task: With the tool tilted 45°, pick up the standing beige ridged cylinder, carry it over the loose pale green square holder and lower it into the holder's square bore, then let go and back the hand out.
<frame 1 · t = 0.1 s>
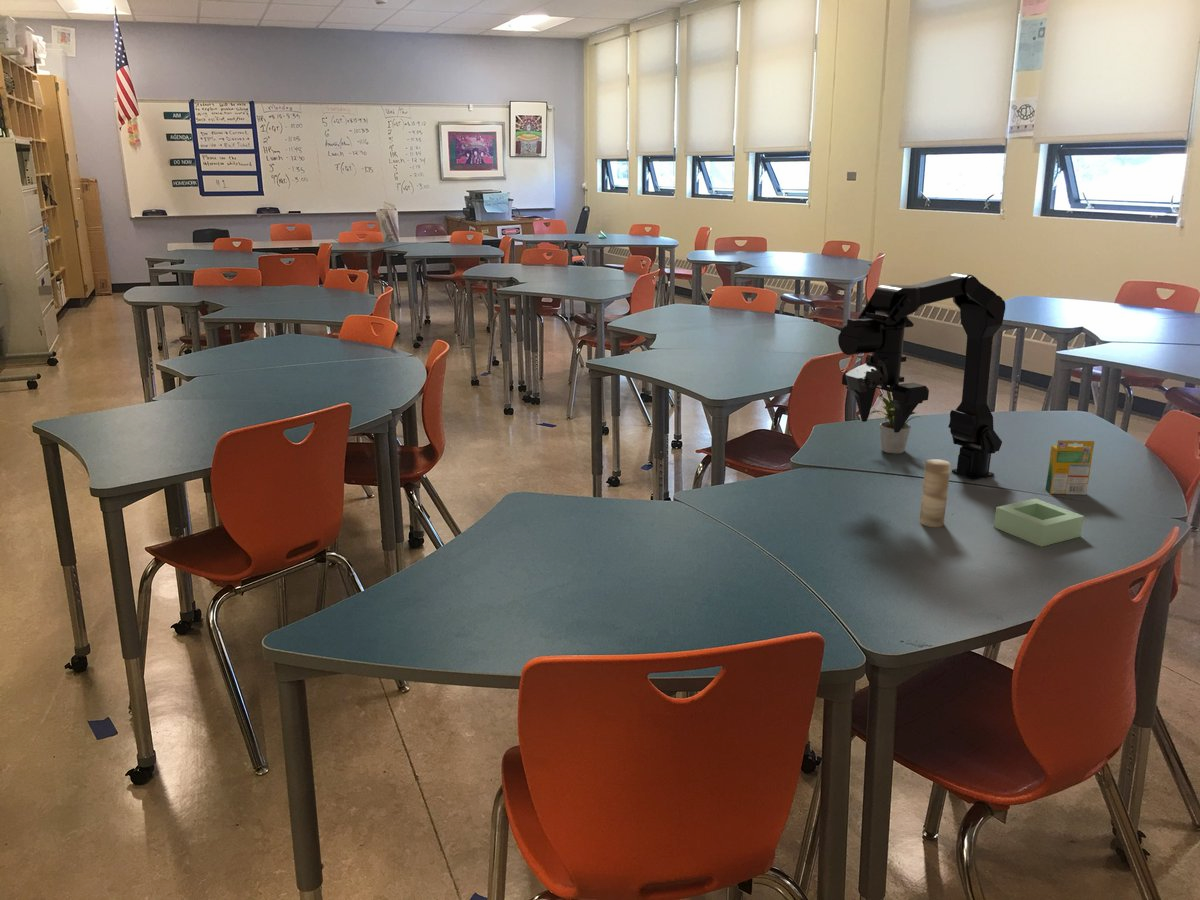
hand: (880, 426, 183), 15 cm above the table, tool pointing down, fingers open, 9 cm apart
house plant: (887, 449, 217), on the table
pale green square holder: (1036, 531, 167), on the table
crayon box: (1065, 493, 188), on the table
beige ridged cylinder: (931, 522, 172), on the table
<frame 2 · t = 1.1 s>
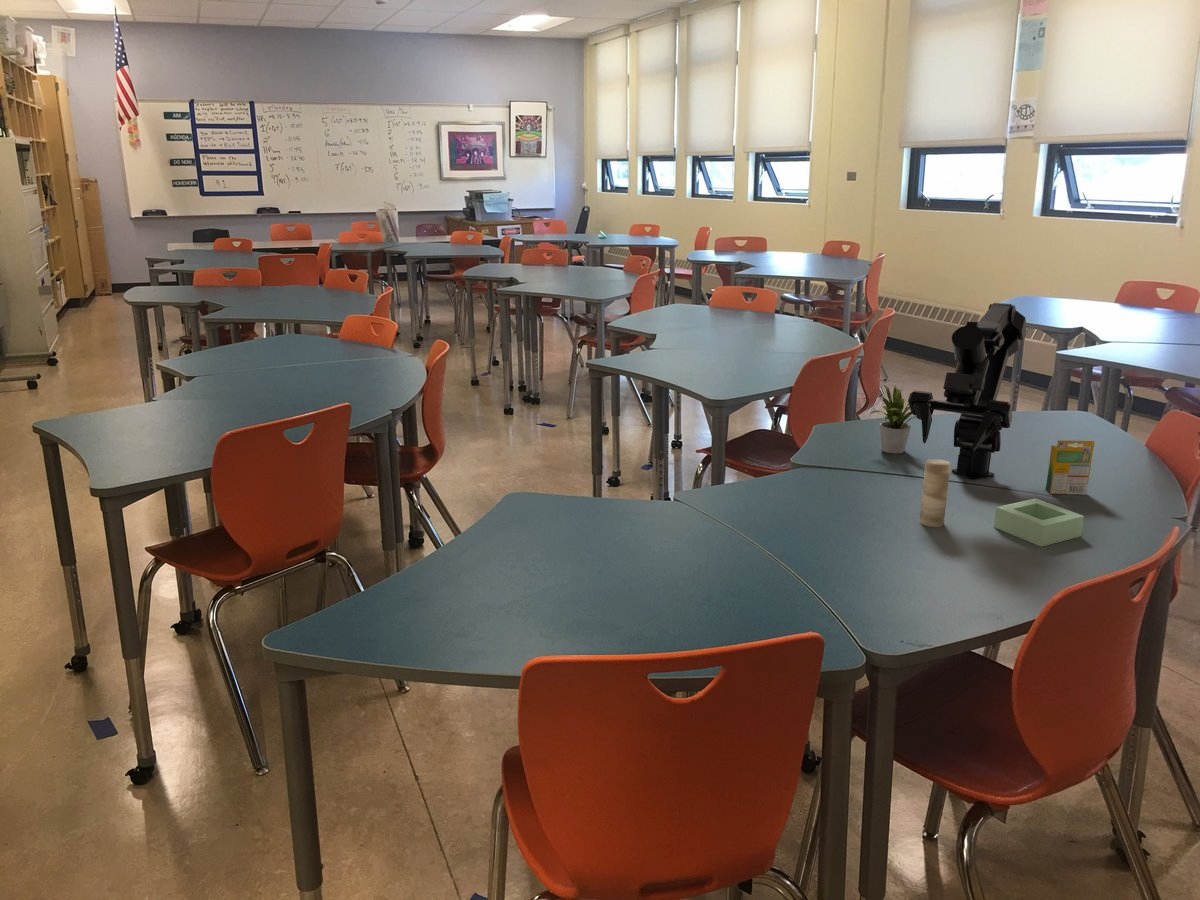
hand: (948, 445, 174), 13 cm above the table, tool tilted 45°, fingers open, 9 cm apart
nothing on the table moved.
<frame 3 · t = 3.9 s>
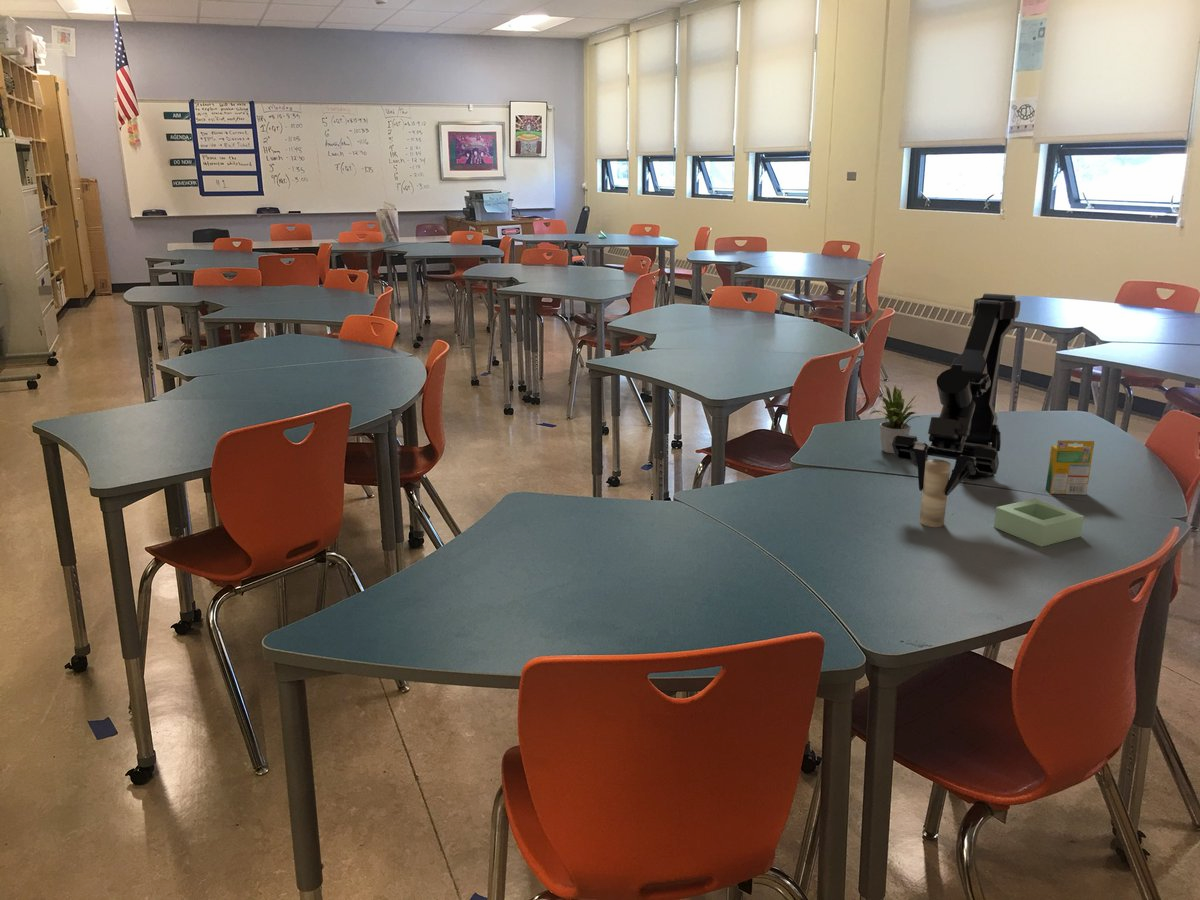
hand: (933, 492, 169), 7 cm above the table, tool tilted 45°, fingers closed on beige ridged cylinder, 4 cm apart
beige ridged cylinder: (931, 522, 172), on the table, touching gripper
everything else where it was.
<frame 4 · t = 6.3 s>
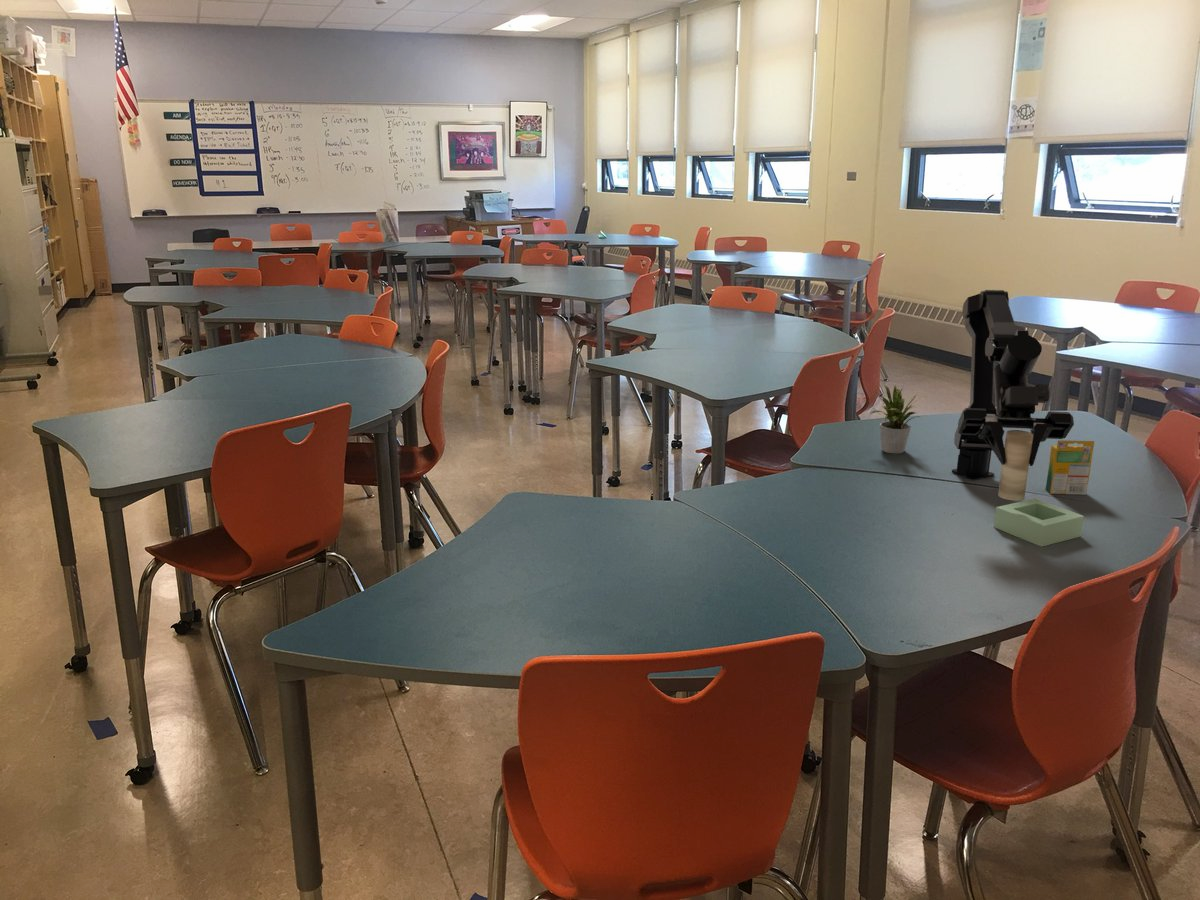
hand: (1017, 464, 162), 13 cm above the table, tool tilted 45°, fingers closed on beige ridged cylinder, 4 cm apart
beige ridged cylinder: (1011, 496, 166), point 7 cm above the table, touching gripper
everything else where it was.
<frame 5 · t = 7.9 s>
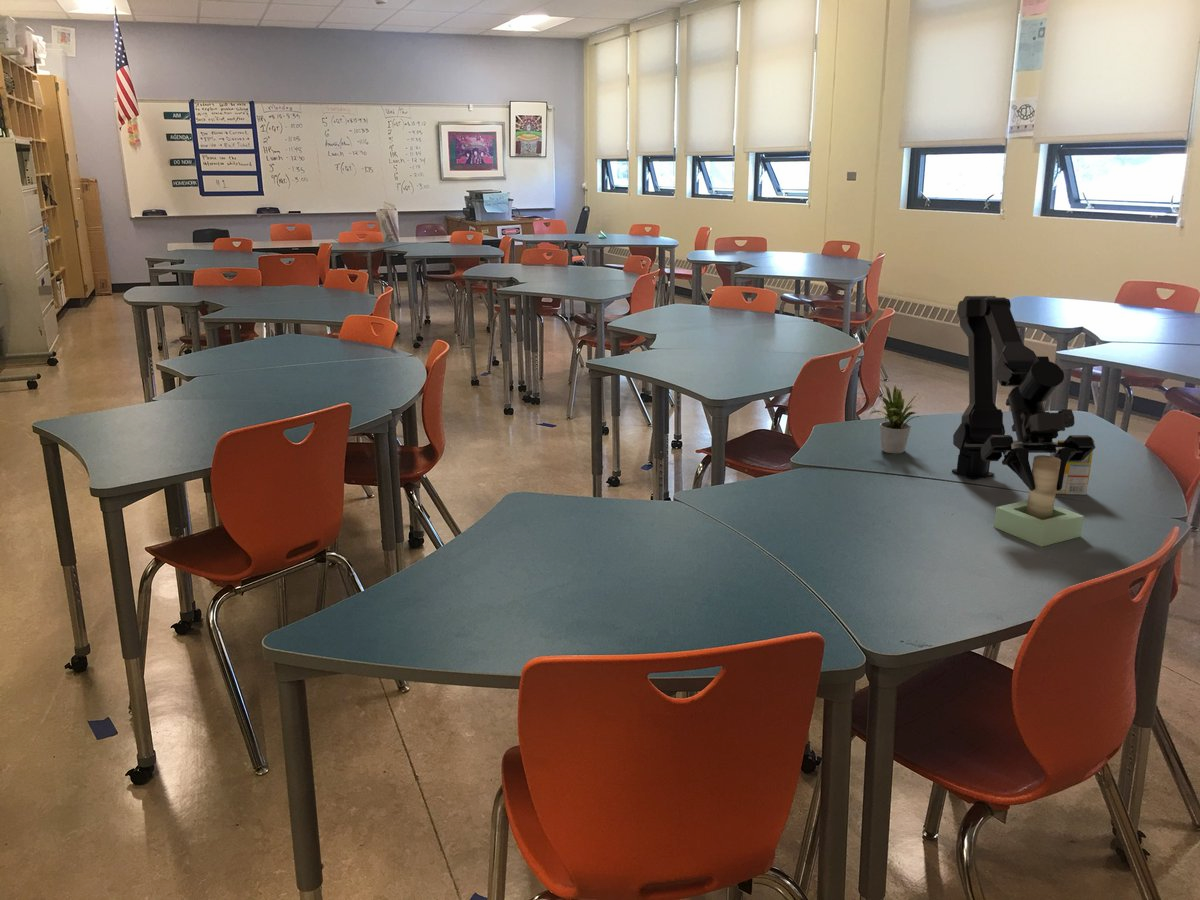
hand: (1046, 489, 164), 9 cm above the table, tool tilted 45°, fingers closed on beige ridged cylinder, 4 cm apart
beige ridged cylinder: (1038, 520, 167), point 2 cm above the table, touching gripper
everything else where it was.
when the fingers open (8 cm above the table, at t = 8.8 s): beige ridged cylinder drops 1 cm, resting in pale green square holder.
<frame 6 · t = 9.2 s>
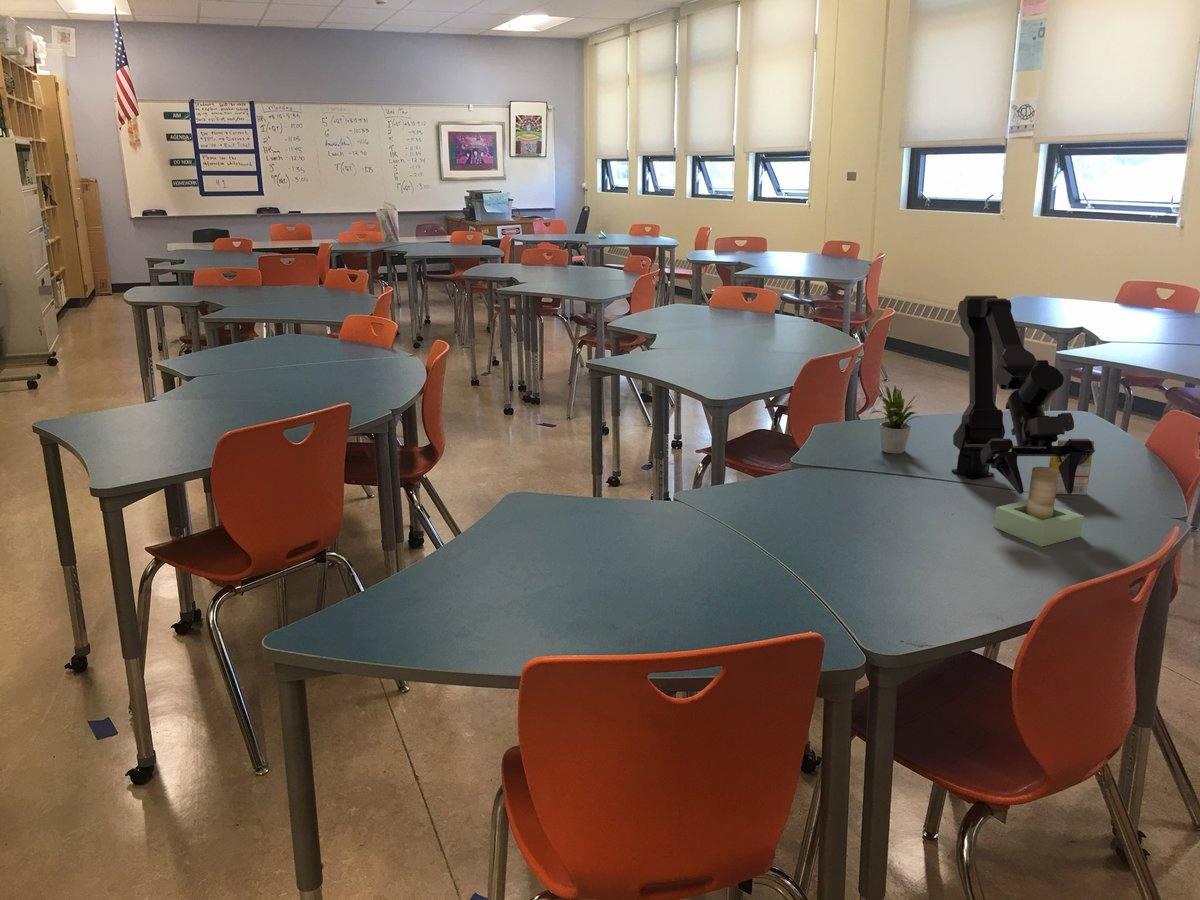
hand: (1045, 493, 164), 8 cm above the table, tool tilted 45°, fingers open, 8 cm apart
beige ridged cylinder: (1036, 531, 167), resting in pale green square holder
everything else where it was.
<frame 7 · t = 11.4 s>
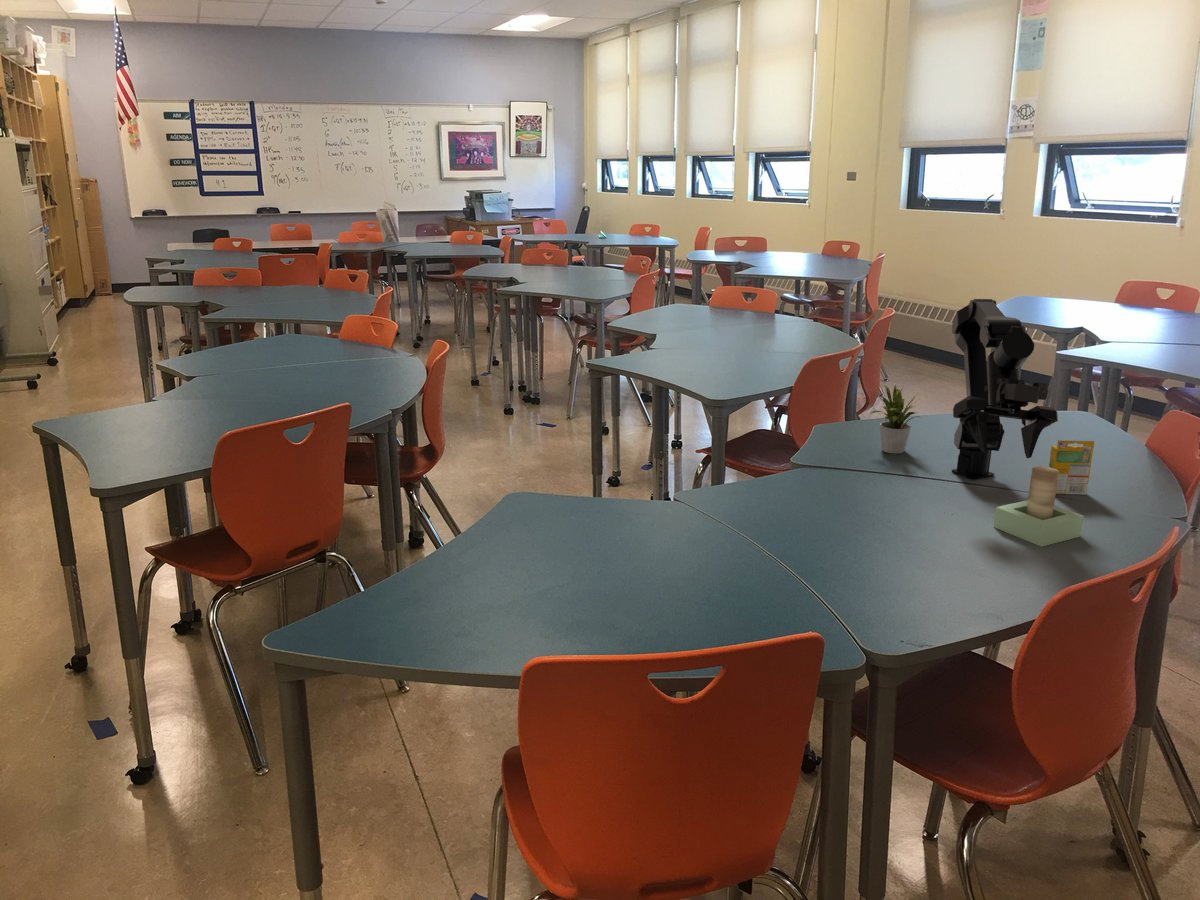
hand: (1006, 454, 173), 12 cm above the table, tool tilted 35°, fingers open, 9 cm apart
nothing on the table moved.
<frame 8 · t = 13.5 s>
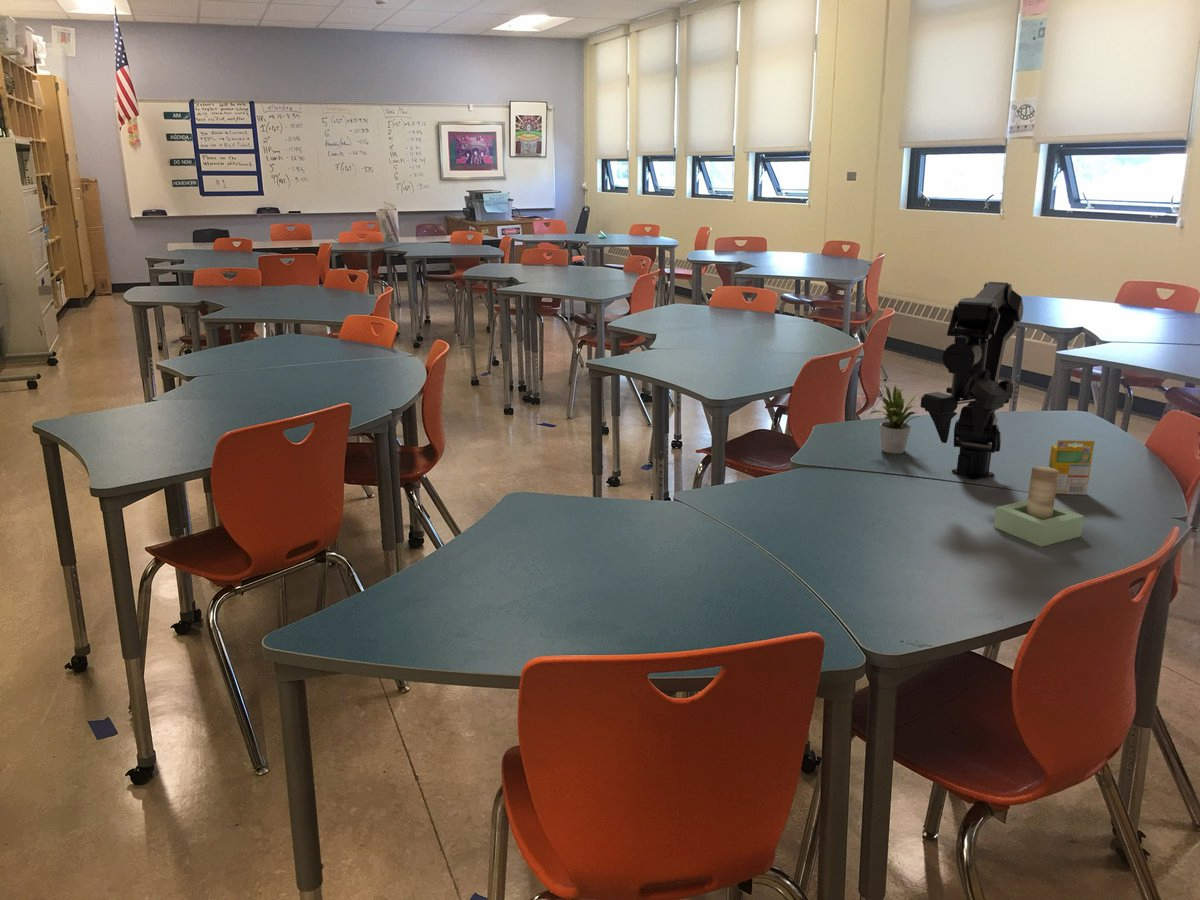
hand: (960, 439, 183), 12 cm above the table, tool pointing down, fingers open, 9 cm apart
nothing on the table moved.
at the end: beige ridged cylinder 0.0 cm from the pale green square holder (horizontally); beige ridged cylinder resting in pale green square holder; the gripper is holding nothing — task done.
